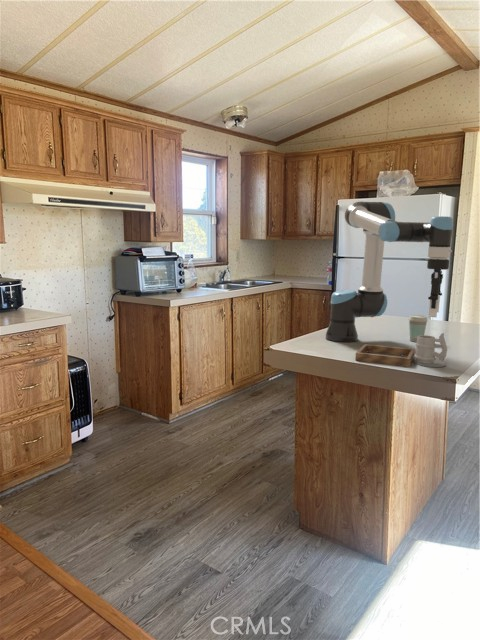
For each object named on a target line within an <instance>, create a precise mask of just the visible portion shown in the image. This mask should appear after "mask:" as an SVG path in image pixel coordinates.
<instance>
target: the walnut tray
mask: <svg viewBox="0 0 480 640" xmlns="http://www.w3.org/2000/svg"><path fill="white" fill-rule="evenodd" d="M391 354H392V355H391ZM415 354H416V348H407V347H396V346H386V345H377V344H376V345H375V344H365V343H364V344H363V345H362V346H361V347H360V348H359V349H358V350H357V351H356V352H355V361H360V362H368V363H375V364H383V365H385V364H386V365H392V364H394V366H401V365H404V366H403V367H411V364H412V362H413V360H414V359H415V358H414V355H415ZM400 355H403V357H402V356H400Z"/></svg>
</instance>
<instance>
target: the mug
mask: <svg viewBox="0 0 480 640" xmlns="http://www.w3.org/2000/svg"><path fill="white" fill-rule="evenodd" d="M436 343H439V344H440V346H441V352H440V353H439V352H437V351H435V349H436ZM415 346H416V347H415V353H414V358H413V359H414V362H415V361H416V362H418V363H424V364H432V363H434V360H436V358H438V360H439V361H442V362H444V360H445V358H446V357H447V353H448V347H447V342H446V340H445V333H444V332H442V333H441V334H440V335H439V337H438V338H436V337H435V336H432V335H426V334H424V335H420V336H418V337H417V342H415Z"/></svg>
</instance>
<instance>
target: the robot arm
mask: <svg viewBox="0 0 480 640" xmlns="http://www.w3.org/2000/svg"><path fill="white" fill-rule="evenodd" d="M344 220H345V222H346V224H347V225H349V226H350V227H352V228H355V229H362V232H363V234H365V242H364V243H365V245H364V255H363V266H362V267H363V268H362V278H361V279H362V280H361V285H360V287H358V288H357V291H356V290H354V289H344V290H337V291H334V292H332V294H331V296H330V313H329V315H330V318H329V320H330V321H329V325H328V327H327V330H326V333H325V339H326V340H328V341H331V342H339V343H351V342H356V341H357V342H358V339H359V335H358V331H357V328H356V318H366V317H367V318H376V317H381V316H382V315H383V314H385V312H386V309H387V306H388V299H387V294H386V293H384V289H383V288H382V286H381V284H382V283H381V282H382V272H383V261H384V260H383V259H384V251H385V250H384V249H385V242H388V243H393V242H394V243H395V242H397V243H398V242H399V243H404V242H405V243H428V244H429V245H428V250H427V251H428V254H427V258H428V259H427V263H426V264H427V265H426V266H427V267H426V268H427V269H428V270H433V272H432V273H431V276H430V280H431V281H430V284H431V287H430V288H431V289H430V295H429V296H428V298H427V299H428V300H429V307H428V318H437V316H438V313H439V312H440V301H441V296H443V293H442V291H441V287H442V282H443V279H444V274H443V271H444V270H448V269H449V268H450V259H449V258H450V255H451V253H453V250H452V249H451V245H452V238H453V229H454V227H453V224H454V223H453V218H452V217H451V216H441V215H440V216H438V215H437V216H432V217H431V219H430V222H421V221H419V222H416V221H415V222H411V221H407V222H406V221H405V222H404V221H398V220H396V212H395V209H394V207H393V206H392V204H390V203H389V202H384V201H356V202H353V203H351V204H350V205H349V206H348V207H347V208H346V209H345V211H344ZM442 270H443V271H442Z"/></svg>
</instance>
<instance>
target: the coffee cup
mask: <svg viewBox="0 0 480 640" xmlns="http://www.w3.org/2000/svg"><path fill="white" fill-rule="evenodd" d="M427 322H428V318H427V315H421V314H419V315H418V314H411V315H409V318H408V326H409V341H410V342H413V343H417V337H418V336H420V335H426V334H425V333H426V328H427Z"/></svg>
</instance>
